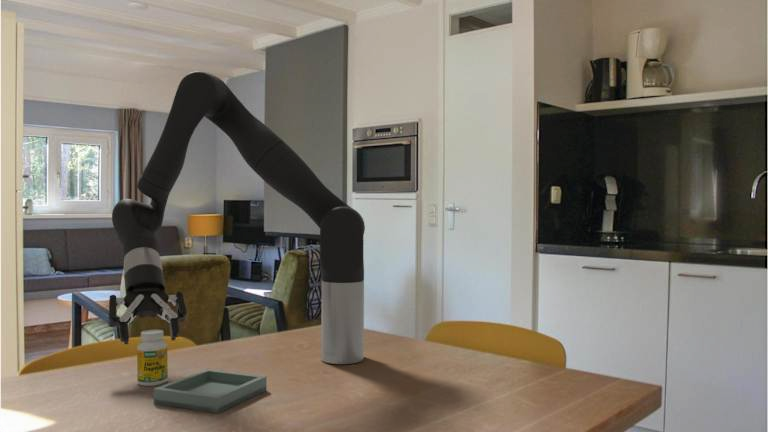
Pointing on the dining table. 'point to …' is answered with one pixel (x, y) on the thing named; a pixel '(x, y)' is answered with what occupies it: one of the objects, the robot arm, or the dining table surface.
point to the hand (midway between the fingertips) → (150, 340)
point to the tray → (210, 390)
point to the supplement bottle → (152, 359)
